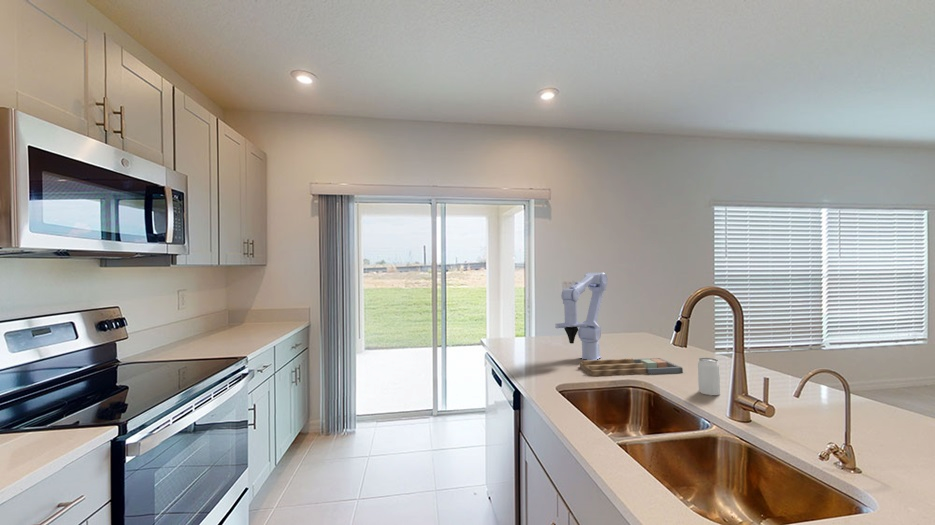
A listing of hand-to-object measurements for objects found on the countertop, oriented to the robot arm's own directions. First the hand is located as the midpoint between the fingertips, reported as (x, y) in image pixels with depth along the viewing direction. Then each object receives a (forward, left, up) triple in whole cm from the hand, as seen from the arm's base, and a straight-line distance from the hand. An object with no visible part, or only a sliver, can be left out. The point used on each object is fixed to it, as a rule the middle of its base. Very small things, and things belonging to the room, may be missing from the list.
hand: (571, 343), depth 171 cm
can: (+6, +55, -11) cm, 56 cm away
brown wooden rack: (-3, +18, -10) cm, 21 cm away
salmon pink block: (-18, +33, -10) cm, 39 cm away
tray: (-17, +32, -10) cm, 37 cm away
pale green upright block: (-15, +30, -10) cm, 34 cm away
